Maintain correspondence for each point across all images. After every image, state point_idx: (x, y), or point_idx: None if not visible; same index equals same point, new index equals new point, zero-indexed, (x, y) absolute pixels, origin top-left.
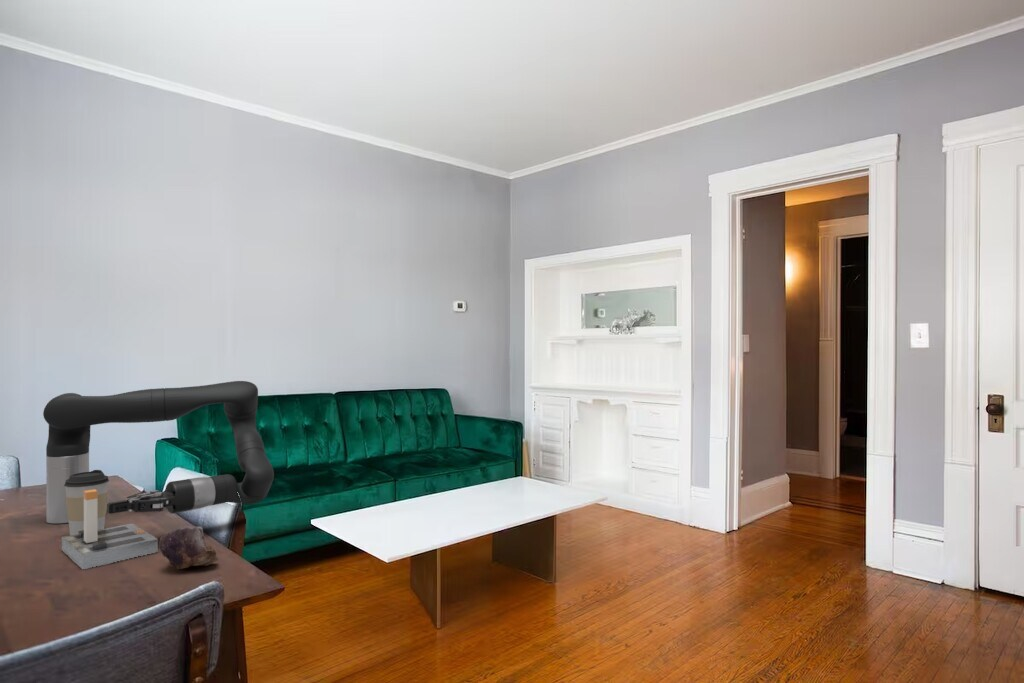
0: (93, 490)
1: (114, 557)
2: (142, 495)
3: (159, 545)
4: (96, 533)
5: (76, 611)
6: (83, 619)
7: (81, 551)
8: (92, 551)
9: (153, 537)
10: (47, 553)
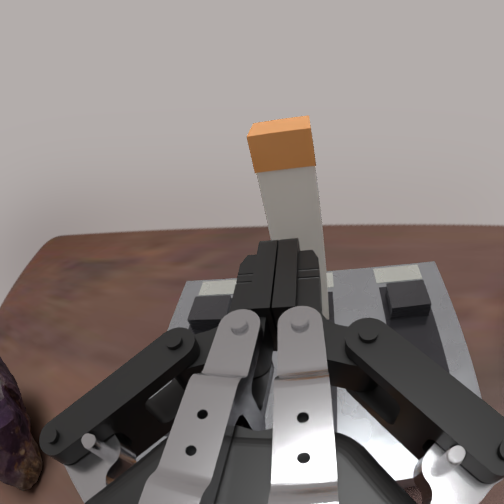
0: (279, 128)
1: None
2: (276, 405)
3: (2, 361)
4: None
5: (52, 275)
6: (32, 276)
7: (219, 282)
8: (193, 299)
9: None
10: None
